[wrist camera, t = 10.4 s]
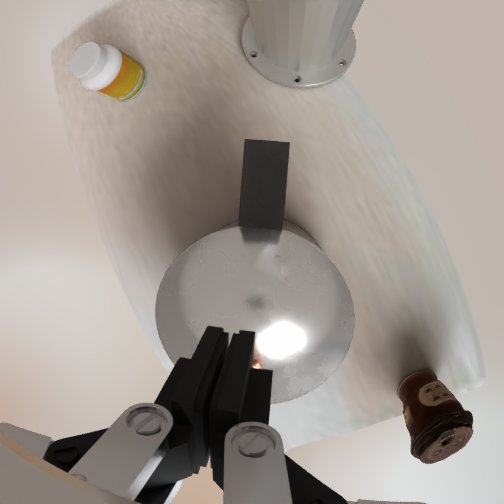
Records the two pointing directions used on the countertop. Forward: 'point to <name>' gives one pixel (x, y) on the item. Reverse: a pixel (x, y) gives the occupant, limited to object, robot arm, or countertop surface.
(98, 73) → the supplement bottle
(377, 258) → the countertop surface
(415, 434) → the coffee cup
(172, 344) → the cooker lid
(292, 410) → the countertop surface
